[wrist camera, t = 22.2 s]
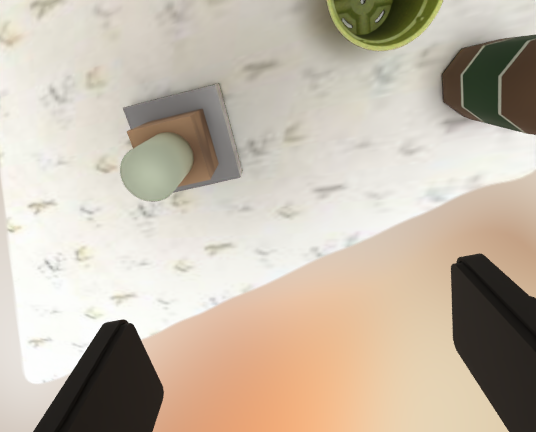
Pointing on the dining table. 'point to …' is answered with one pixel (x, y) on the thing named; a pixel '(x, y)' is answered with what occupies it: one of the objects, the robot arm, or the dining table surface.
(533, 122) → the beer bottle
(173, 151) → the tin
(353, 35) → the plant pot
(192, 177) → the cube
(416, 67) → the dining table surface
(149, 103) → the plinth
